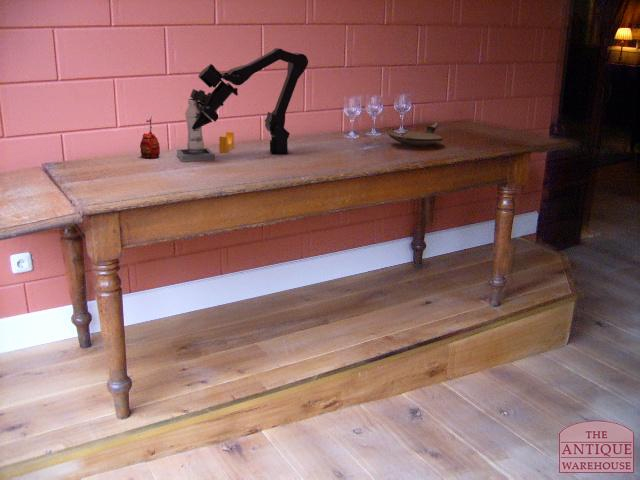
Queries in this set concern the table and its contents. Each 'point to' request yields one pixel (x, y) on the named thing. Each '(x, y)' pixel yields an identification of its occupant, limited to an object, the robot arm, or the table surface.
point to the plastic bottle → (195, 136)
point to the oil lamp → (418, 137)
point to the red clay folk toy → (149, 144)
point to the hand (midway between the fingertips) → (191, 127)
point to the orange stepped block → (226, 142)
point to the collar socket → (195, 155)
